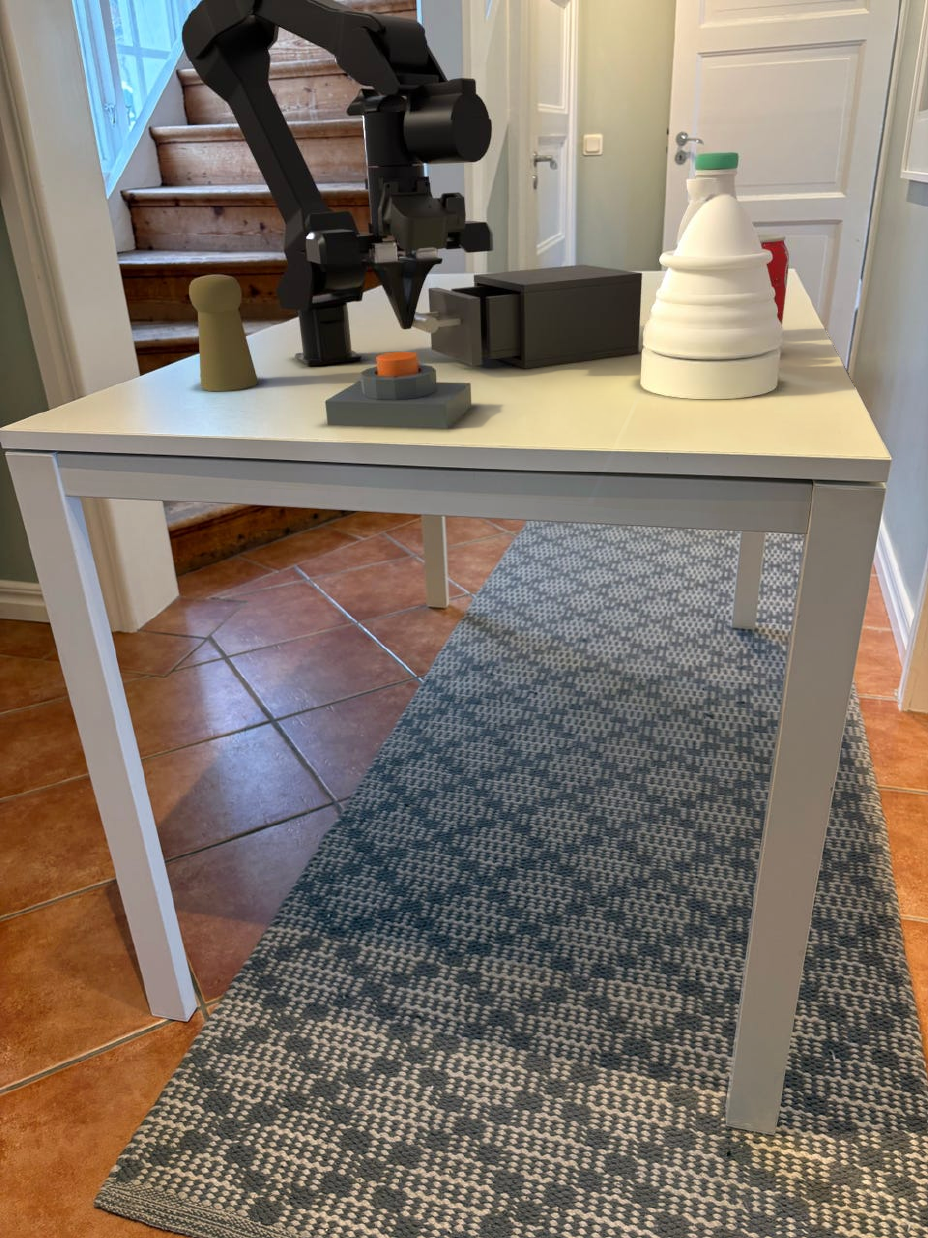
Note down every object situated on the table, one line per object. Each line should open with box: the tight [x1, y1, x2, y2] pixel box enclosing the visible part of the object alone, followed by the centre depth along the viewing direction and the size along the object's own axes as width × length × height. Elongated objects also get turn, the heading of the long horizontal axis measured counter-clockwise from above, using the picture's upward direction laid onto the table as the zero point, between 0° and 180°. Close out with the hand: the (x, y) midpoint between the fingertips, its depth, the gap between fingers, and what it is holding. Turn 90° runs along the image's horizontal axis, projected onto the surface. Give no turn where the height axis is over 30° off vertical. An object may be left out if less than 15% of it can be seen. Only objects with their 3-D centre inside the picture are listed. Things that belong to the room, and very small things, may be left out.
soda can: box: [757, 234, 790, 326], centre depth 96 cm, size 7×7×12 cm
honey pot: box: [639, 178, 784, 400], centre depth 83 cm, size 13×13×18 cm
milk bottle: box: [675, 151, 739, 249], centre depth 103 cm, size 8×8×20 cm
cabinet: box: [473, 264, 643, 370], centre depth 103 cm, size 15×13×9 cm
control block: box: [324, 363, 472, 430], centre depth 80 cm, size 11×8×4 cm
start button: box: [375, 351, 419, 376], centre depth 79 cm, size 4×4×2 cm
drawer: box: [411, 285, 522, 367], centre depth 100 cm, size 18×11×7 cm, turn 114°
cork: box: [188, 274, 259, 392], centre depth 94 cm, size 6×6×11 cm
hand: (406, 328), depth 96 cm, fingers closed
